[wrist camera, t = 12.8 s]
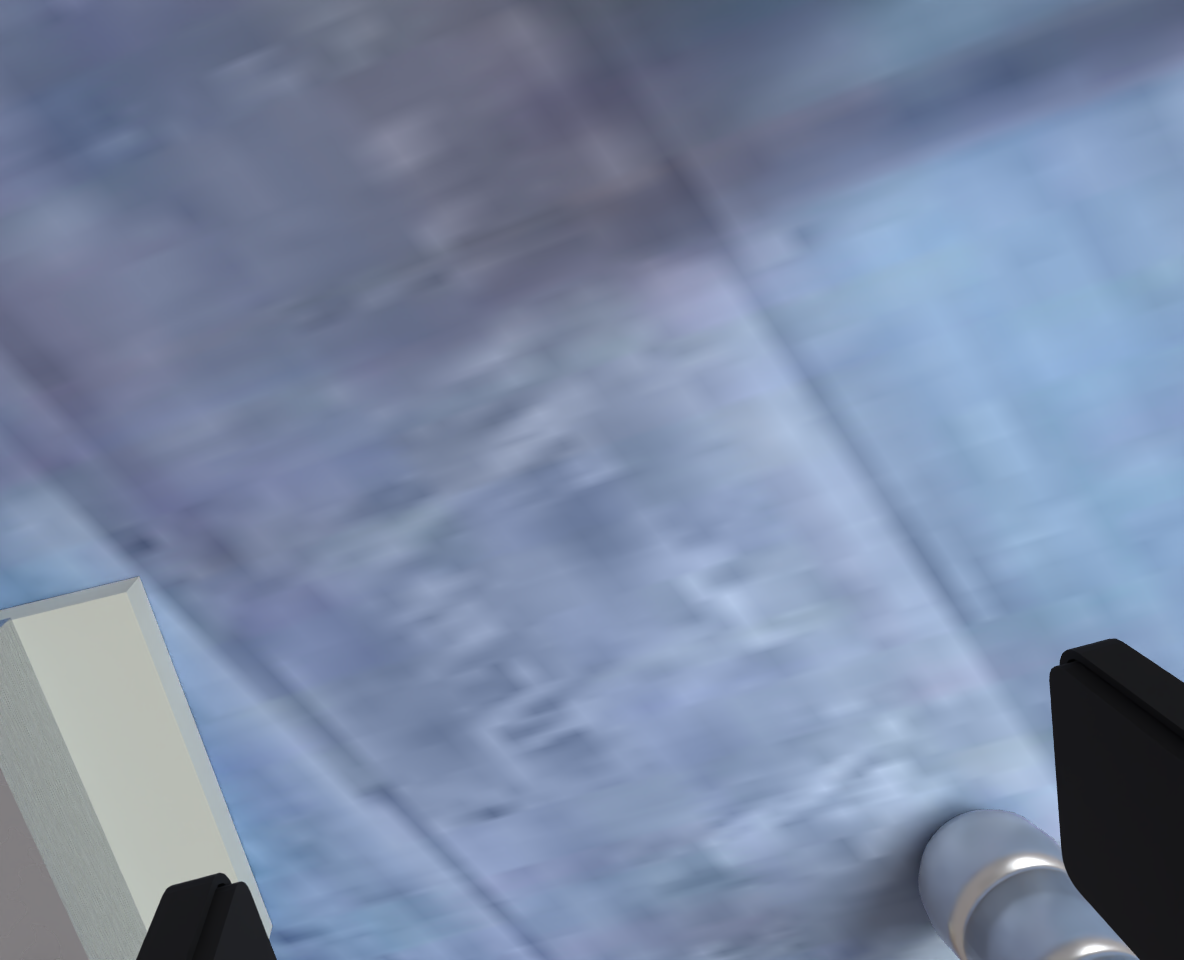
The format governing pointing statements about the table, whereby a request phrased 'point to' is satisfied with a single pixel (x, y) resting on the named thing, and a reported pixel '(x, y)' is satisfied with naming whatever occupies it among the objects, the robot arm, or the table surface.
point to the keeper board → (133, 739)
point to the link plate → (52, 837)
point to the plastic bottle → (1008, 894)
